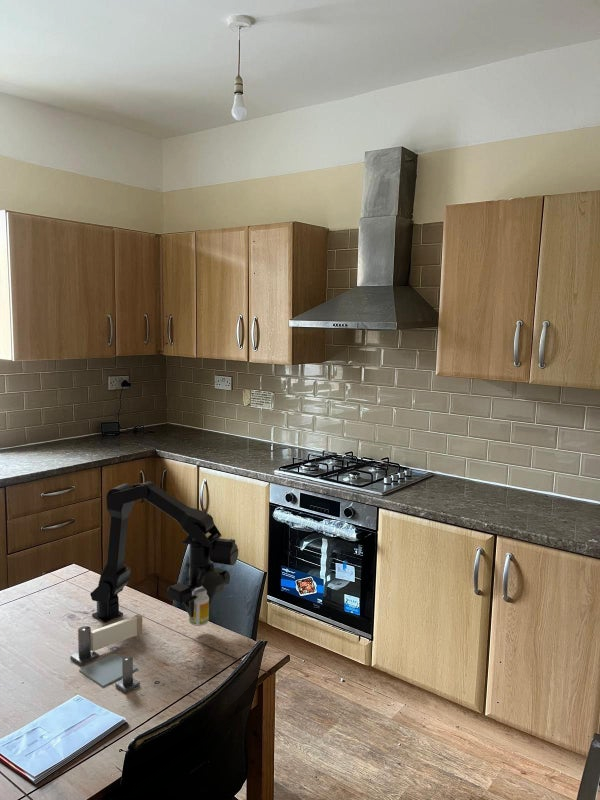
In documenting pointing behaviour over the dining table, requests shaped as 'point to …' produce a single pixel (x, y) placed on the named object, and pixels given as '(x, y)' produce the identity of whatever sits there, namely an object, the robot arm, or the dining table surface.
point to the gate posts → (88, 655)
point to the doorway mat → (105, 670)
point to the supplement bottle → (200, 608)
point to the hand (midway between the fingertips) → (199, 613)
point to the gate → (116, 632)
